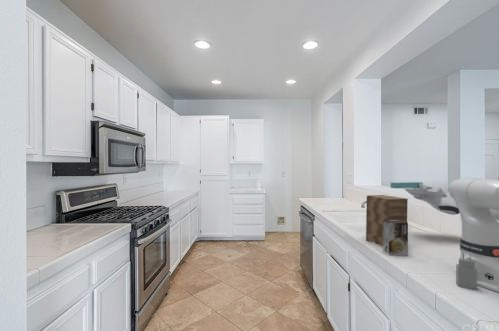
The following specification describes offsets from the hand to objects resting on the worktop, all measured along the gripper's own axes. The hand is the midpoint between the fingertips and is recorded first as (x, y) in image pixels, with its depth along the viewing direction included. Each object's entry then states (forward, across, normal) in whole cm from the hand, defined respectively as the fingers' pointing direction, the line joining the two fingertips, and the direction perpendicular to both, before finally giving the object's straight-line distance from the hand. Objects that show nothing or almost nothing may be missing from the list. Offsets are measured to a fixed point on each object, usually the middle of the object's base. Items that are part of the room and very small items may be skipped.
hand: (415, 184), depth 143 cm
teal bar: (+5, 0, -5) cm, 7 cm away
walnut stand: (+3, 0, -40) cm, 40 cm away
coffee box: (+10, -13, -44) cm, 47 cm away
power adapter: (+13, -46, -46) cm, 66 cm away
